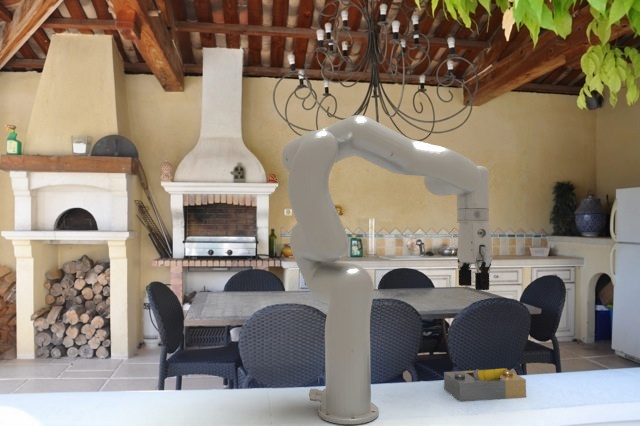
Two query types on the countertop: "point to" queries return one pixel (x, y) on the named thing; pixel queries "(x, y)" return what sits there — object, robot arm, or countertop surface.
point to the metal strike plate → (484, 386)
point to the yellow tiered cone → (488, 374)
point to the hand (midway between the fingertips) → (473, 287)
